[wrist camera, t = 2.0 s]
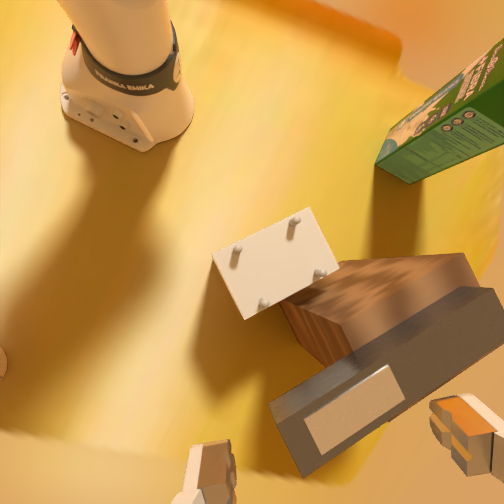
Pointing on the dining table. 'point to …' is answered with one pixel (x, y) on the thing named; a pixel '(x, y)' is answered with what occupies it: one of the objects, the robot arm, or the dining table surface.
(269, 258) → the dock
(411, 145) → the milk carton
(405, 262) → the stand
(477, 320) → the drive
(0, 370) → the supplement can
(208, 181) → the dining table surface
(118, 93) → the robot arm
